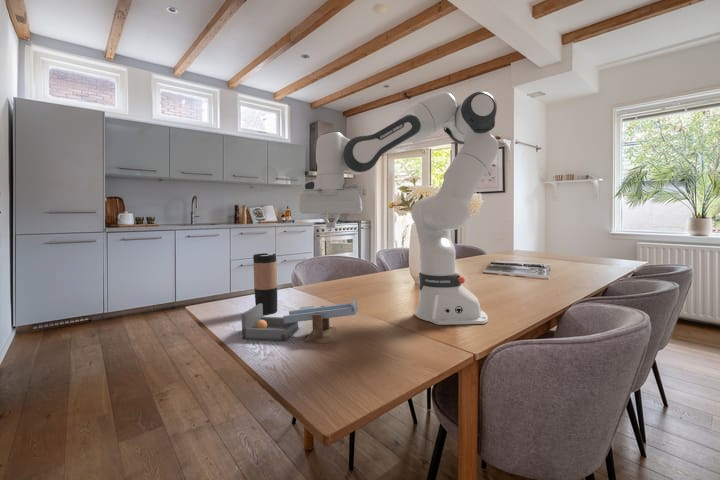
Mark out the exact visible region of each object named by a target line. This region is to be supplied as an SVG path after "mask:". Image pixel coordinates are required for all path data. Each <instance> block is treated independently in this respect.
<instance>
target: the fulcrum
mask: <svg viewBox="0 0 720 480" xmlns="http://www.w3.org/2000/svg"><path fill="white" fill-rule="evenodd" d="M324 306H325V305H321V306H319V307H324ZM311 322H312V324H311V325H312V331H311V332H310V333H309V334H308V335H307V337H305V343H314V344H315V343H316V344H317V343H318V344H328V343H329V341H330V340H331V339H332V337H333V336H334V334H335V332H336V331H337V327H336V326H330V318H325V319H322V314H313V315H312V320H311Z"/></svg>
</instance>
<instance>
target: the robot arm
mask: <svg viewBox="0 0 720 480" xmlns="http://www.w3.org/2000/svg"><path fill="white" fill-rule="evenodd" d="M497 108H498V107H497V101H496V99H495V98H494V96H493V95H492V94H490V93H489V92H486V91H481V90H480V91H476V92H473V93H471V94H470V95H468V96H467V97H466V98H465V99H464V100H463V102H462V103H460V102H458V101H456V98H455V97H454V96H453V94H451V93H450V92H447V91H441V92H438V93H435V94H432V95H430V96H427V97H425V98H423V99H422V100H420V101H418V102H416V103H414V104H413V105H412V106H410V107H409V108H408V109H406V110H405V111H404V112H403V113H402V114H401V115H400V116H399V117H398V119H396V121H394V122H392V123H391V124H389V125H388V126H385V127H384V128H382V129H380V130H379V131H377V132H375V133H373V134H369V135H361V136H355V137H353V138H351V139H350V138H347V137H346V136H345V135H343V134H342V133H341V132H339V131H330V132H329V131H328V132H325V133H322V134H321V135H319V136H318V138H317V139H316V147H315V162H316V166H317V169H316V170H317V171H316V175H315V176H316V178H315V179H314V178H313V179H312V180H308V181H306V182H304V183H302V184H301V189H302V192H301V193H300V196H299V203H298V204H299V207H298V209H299V212H300V214H302V215H306V214H307V215H309V214H313V215H314V214H320V215H321V214H322V219H323V221H324V222H325V227H326V229H335V228H337V222H338V220H339V219H340V214H360V213H362V212H363V203H362V198H363V193H364V190H363V187H362V186H361V185H359V183H358V184H357V183H353V184H352V183H351V184H349V183H345V173H347V174H351V175H355V176H359V175H362V174H364V173H366V172H368V171H369V170H371V169H372V168H373V167H375V165H376V164H377V162H378V161H379V159H380V158H381V157H382V156H383V155H384V154H385V153H388V151H390V150H392V149H394V148H395V147H397V146H399V145H400V144H403V143H404V142H407V141H409V142H413V143H415V142H418V141H421V140H423V139H426V138H427V137H430V136H431V135H433V134H435V133H437V132H439V130H441V129H443V131H444V132H445V133H446V134H447V135H448V137H449V138H450V139H451V141H453V142H454V143H456V144H458V145H462V147H461V148H460V150H459V151H458V153H457V154H456V156H455V157H454V159H453V160H452V162H451V163H450V165H449V166H448V167H447V168H446V170H445V171H444V173H443V181H442V184H441V186H440V188H439V191H438V192H437V193H436V194H435V195H430V196H429V195H428V196H425V197H422V198H421V199H420V198H419V200H417V201H416V202H414V204H413V206H411V207H412V208H411V211H410V212H411V213H410V214H411V219H412V220H413V222H414V224H415V228H416V232H417V233H416V234H417V238H418V243H419V253H420V265H419V266H420V272H419V273H418V288H419V289H418V290H419V294H418V302H417V307H416V311H415V314H414V315H415V317H417V318H418V319H421V320H423V321H427V322H430V323H432V324H435V325H439V326H441V325H444V326H445V325H446V326H449V325H480V324H482V325H484V324H486V323H487V322H489V317H488V314H487V312H485V311H483V310H482V309H481V305H480V301H479V298H477V296H476V295H475V294H474V293H472V292H471V291H470V290H468V289H467V288H466V287H465V286H464V285H462V284H465V282H466V278H464V276H463V275H460V274H459V273H457V272H456V266H457V264H456V263H457V262H456V261H457V260H456V259H457V257H456V255H457V254H456V253H457V251H456V247H455V245H454V244H453V241H452V240H451V236H450V232H451V231H455V230H458V229H461V228H463V227H464V226H465V225H466V224H467V223H468V221H469V220H470V216H471V208H470V203H471V202H472V201H471V200H472V198H473V195H474V194H475V191H476V190H477V188H478V186H479V185H480V183H481V182H482V180H483V179H484V178H485V176H486V174H487V173H488V171H489V169H490V168H491V166H492V165H493V162H494V160H495V159H496V156H497V154H498V152H499V149H500V147H499V142H498V139H497V138H496V137H495V136H494V135H493V134H491V131H492V130H494V128H495V124H496V116H497ZM329 214H333V217H334V219H333V221H330V220H329V219H328V218H329Z"/></svg>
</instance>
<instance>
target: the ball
mask: <svg viewBox="0 0 720 480" xmlns="http://www.w3.org/2000/svg"><path fill="white" fill-rule="evenodd" d="M256 328H267V322H266V321H265V320H259V321H257V323H256Z"/></svg>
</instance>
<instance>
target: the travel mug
mask: <svg viewBox="0 0 720 480" xmlns="http://www.w3.org/2000/svg"><path fill="white" fill-rule="evenodd" d="M252 259H253V288H254V300H255V301H254V302H255V305H254V306H256V305H258V304H263V316H266V315H273V314H276V313H277V312H278V276H277V275H278V273H277V269H278V268H277V255H276V253H273V254H268V253H264V252H263V253H255V254H253V257H252Z"/></svg>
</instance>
